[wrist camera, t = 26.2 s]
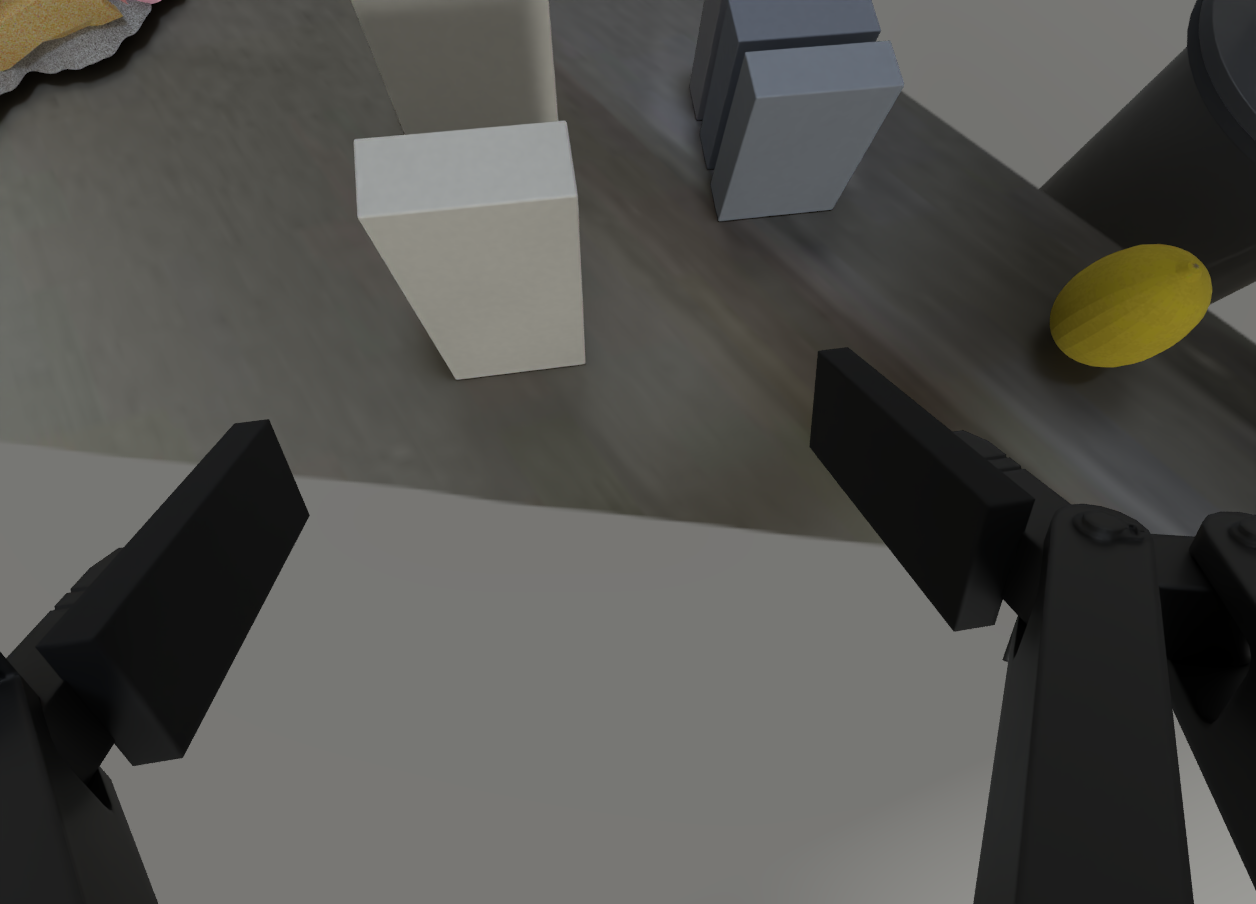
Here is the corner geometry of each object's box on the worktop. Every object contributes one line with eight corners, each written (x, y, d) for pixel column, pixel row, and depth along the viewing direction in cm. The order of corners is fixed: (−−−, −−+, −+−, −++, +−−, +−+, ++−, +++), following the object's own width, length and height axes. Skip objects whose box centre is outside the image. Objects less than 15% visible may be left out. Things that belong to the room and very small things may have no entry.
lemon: (1127, 333, 36) (1274, 255, 28) (1089, 406, 34) (1232, 346, 26) (1042, 281, 36) (1163, 191, 28) (1001, 351, 35) (1116, 277, 27)
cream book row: (566, 220, 36) (547, -20, 22) (444, 233, 35) (347, -6, 22) (550, 107, 38) (523, -177, 24) (434, 117, 37) (340, -169, 23)
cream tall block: (586, 364, 33) (578, 195, 20) (455, 380, 33) (356, 217, 19) (578, 314, 34) (566, 119, 21) (451, 329, 34) (352, 138, 20)
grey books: (832, 210, 37) (909, 77, 28) (717, 222, 36) (758, 90, 27) (797, 77, 39) (857, -86, 30) (689, 86, 38) (717, -77, 29)
